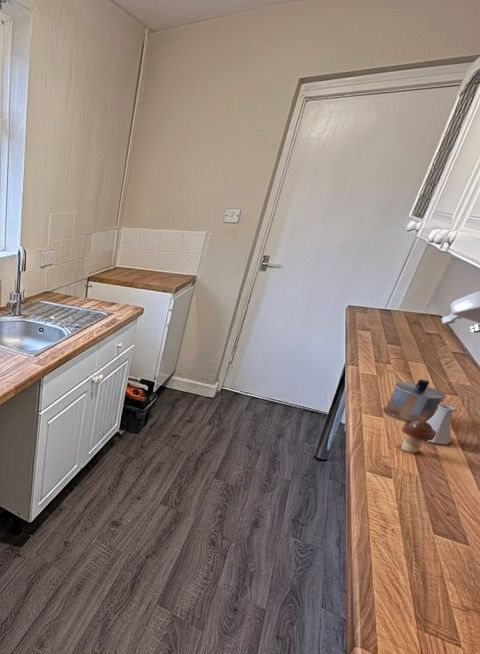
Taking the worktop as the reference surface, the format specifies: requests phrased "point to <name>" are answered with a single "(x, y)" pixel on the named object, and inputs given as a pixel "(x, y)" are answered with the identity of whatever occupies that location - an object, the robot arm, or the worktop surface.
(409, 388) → the pot lid
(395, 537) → the worktop surface
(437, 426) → the flask
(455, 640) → the worktop surface
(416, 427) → the mushroom
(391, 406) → the pot
